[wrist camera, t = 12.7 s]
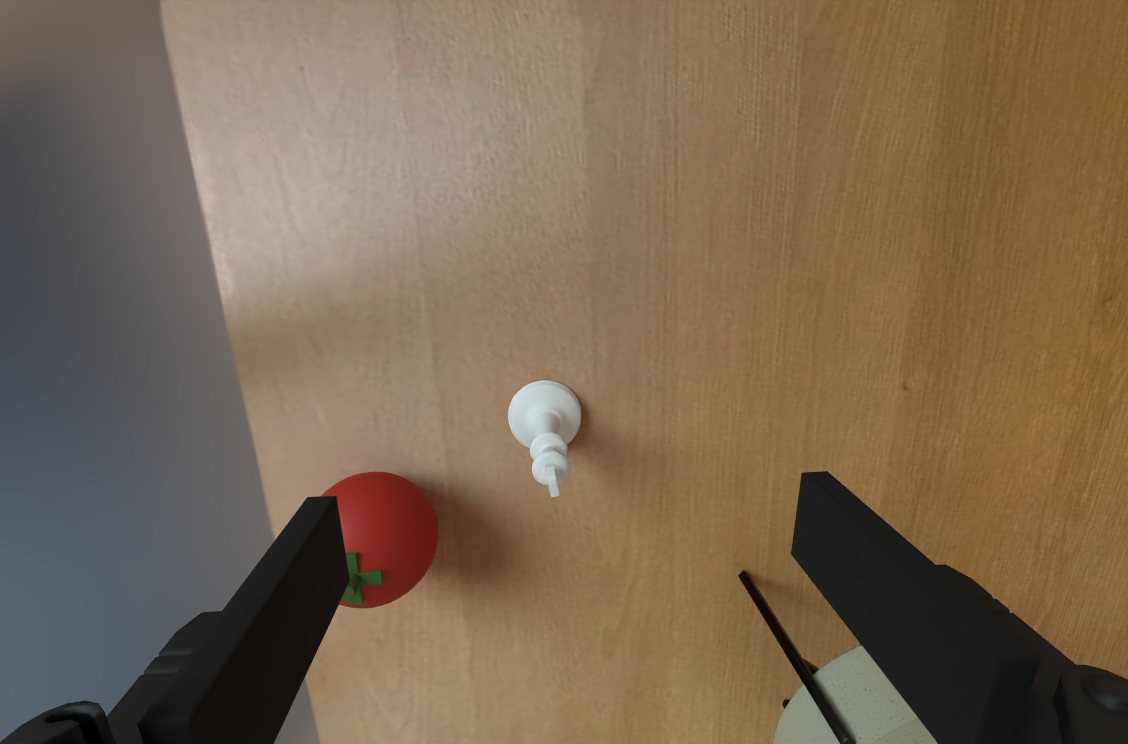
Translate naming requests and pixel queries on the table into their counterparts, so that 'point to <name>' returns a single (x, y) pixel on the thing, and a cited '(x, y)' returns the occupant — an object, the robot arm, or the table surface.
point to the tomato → (384, 536)
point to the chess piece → (546, 428)
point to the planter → (840, 697)
